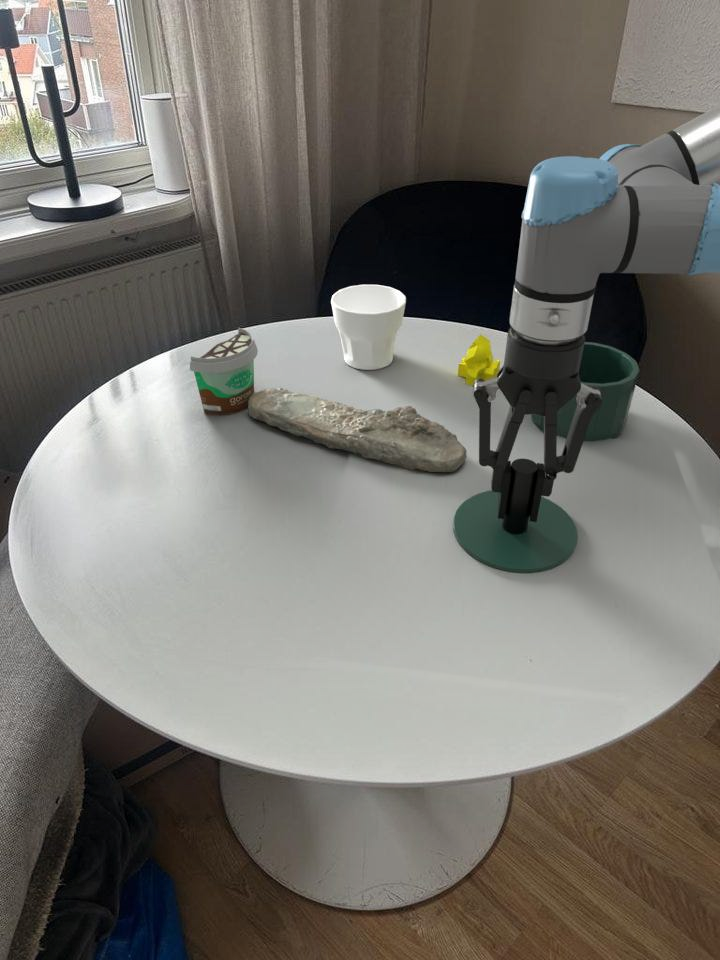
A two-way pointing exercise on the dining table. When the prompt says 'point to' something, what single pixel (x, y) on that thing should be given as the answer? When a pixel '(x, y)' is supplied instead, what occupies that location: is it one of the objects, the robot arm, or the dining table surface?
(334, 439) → the elongated rock
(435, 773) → the dining table surface
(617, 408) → the pot
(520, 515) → the pot lid
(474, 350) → the yellow faceted cluster
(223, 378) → the food container
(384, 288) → the cup
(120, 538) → the dining table surface
